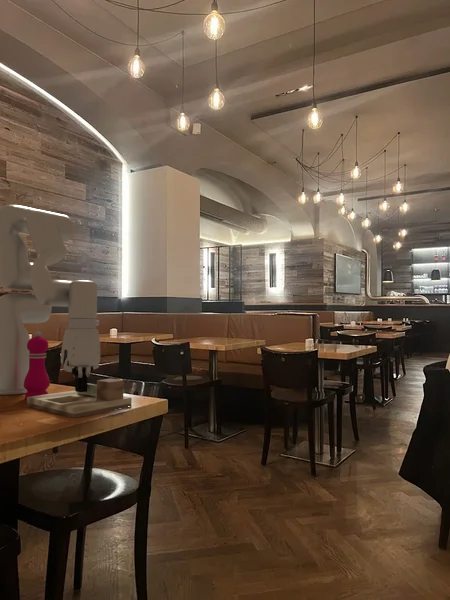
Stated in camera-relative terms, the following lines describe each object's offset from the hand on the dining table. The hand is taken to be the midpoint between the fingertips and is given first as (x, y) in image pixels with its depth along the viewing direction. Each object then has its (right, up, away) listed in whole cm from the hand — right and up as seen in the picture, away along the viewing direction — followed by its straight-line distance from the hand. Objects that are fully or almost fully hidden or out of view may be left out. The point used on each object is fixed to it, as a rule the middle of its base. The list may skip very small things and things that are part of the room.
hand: (81, 391), depth 125 cm
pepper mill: (-17, -5, +11) cm, 21 cm away
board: (0, -4, -1) cm, 4 cm away
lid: (+4, -2, +5) cm, 7 cm away
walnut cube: (+9, -2, -2) cm, 9 cm away
